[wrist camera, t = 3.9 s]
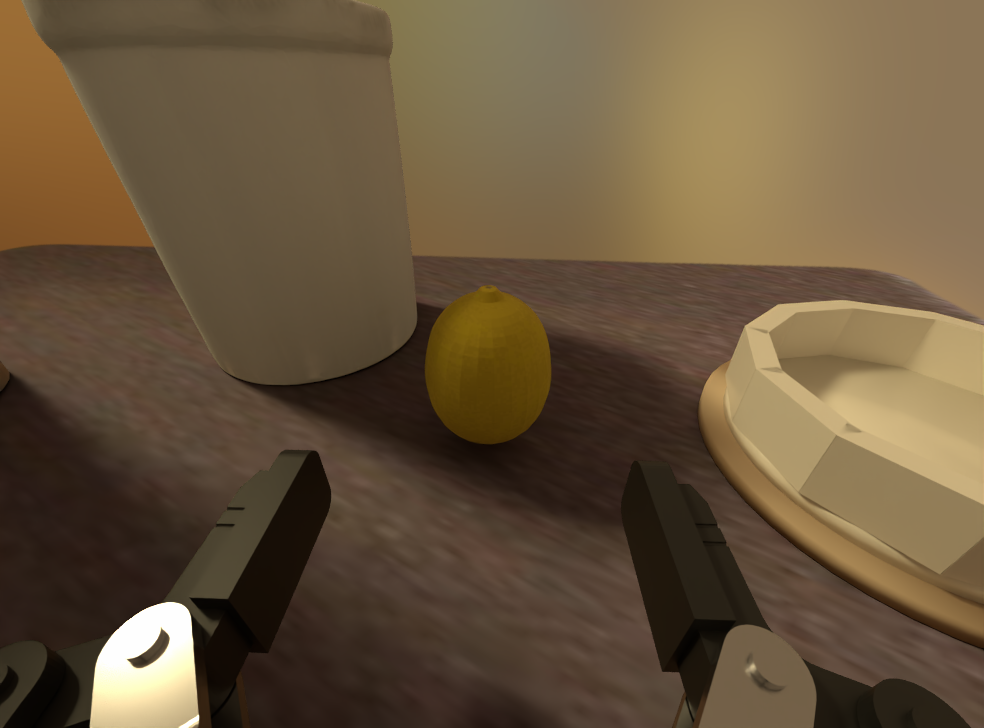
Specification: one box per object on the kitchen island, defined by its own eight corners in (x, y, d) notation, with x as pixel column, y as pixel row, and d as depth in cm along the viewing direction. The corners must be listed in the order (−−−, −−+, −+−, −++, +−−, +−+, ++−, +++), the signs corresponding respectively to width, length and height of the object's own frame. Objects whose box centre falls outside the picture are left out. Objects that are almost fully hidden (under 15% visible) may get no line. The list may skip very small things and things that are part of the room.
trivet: (1280, 871, 9) (1322, 866, 8) (631, 438, 20) (634, 426, 19) (1192, 485, 18) (1211, 473, 17) (775, 333, 29) (779, 323, 28)
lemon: (566, 455, 19) (590, 300, 15) (459, 499, 17) (448, 334, 12) (509, 391, 23) (514, 255, 19) (417, 420, 21) (398, 274, 17)
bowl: (1227, 772, 10) (1439, 719, 7) (664, 429, 19) (685, 364, 17) (1173, 470, 17) (1268, 402, 15) (789, 333, 27) (815, 280, 25)
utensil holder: (201, 429, 20) (-66, -57, 11) (198, 315, 31) (62, 17, 21) (458, 349, 27) (439, 0, 17) (383, 277, 37) (345, 35, 28)
